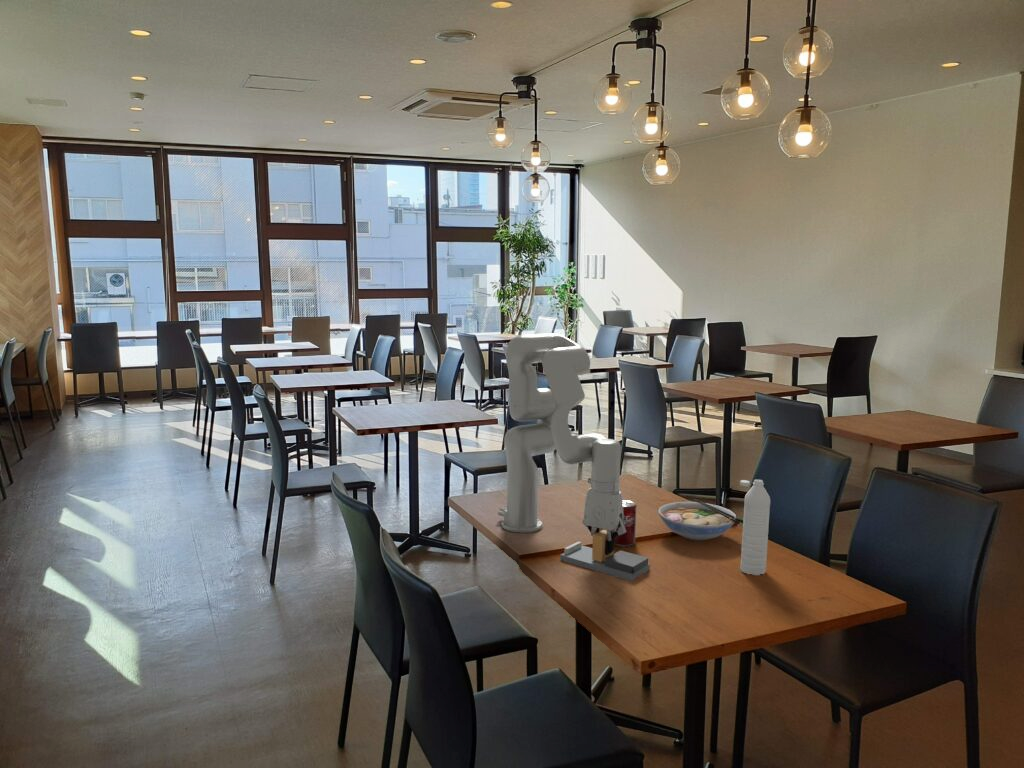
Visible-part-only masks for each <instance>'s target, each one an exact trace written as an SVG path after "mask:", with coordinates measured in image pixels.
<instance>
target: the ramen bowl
mask: <svg viewBox="0 0 1024 768" xmlns="http://www.w3.org/2000/svg"><path fill="white" fill-rule="evenodd" d="M691 499H692V500H694V501H677V502H670V503H666V504H664V505H662V506H660V507H659V508H658V511H657V512H658V515H659V517H660V519H661V520H662V522H663V523H664V524H665V525H666V527H667V528H668V529H669V530H670V531H671V532H673V533H675V534H677V535H679V536H681V537H684V538H685V539H687V540H689V541H690V540H691V541H697V542H699V541H707V540H710V539H714V538H718V537H720V536H721V535H724V534H725V533H727V532H728V531H729V530H730V529H731V527H732V526H733V525H734V524H738V525H740V523H742V524H743V521H744V520H743V519H742V518H739V517H737V514H736V513H735V512H733V511H732V510H730V509H728V508H726V507H723V506H720V505H716V504H711V503H706V502H703V501H701V500H699V499H696V498H691Z"/></svg>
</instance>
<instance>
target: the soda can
mask: <svg viewBox="0 0 1024 768" xmlns="http://www.w3.org/2000/svg"><path fill="white" fill-rule="evenodd" d="M622 500H623V514H624V518H623V524H624V526H625V529H626V533H624V534H621V535H619V536H617V537H616V538H615V539H614V546H617V547H631V546H633V545H635V543H636V532H637V531H636V529H637V528H636V527H637V506H638V505H637V504H636V502H635V501H633V500H629V499H622ZM617 530H619V528H617V529H616V531H617Z"/></svg>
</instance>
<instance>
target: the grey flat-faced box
mask: <svg viewBox="0 0 1024 768" xmlns="http://www.w3.org/2000/svg"><path fill="white" fill-rule="evenodd" d="M648 564H649V557H646V556H642V555H639V554H636V553H632V552H628V551H624V550H621V549H620V550H618V551H617V552H615V553H614V554H613V555H611V556H609V557H607V558H605V566H606V567H610V568H613V569H617V570H620V571H624V572H627V573H630V574H634V573H636V572H637V571H639V570H641V569H643V568H644V567H646V566H648Z"/></svg>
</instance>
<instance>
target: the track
mask: <svg viewBox="0 0 1024 768" xmlns="http://www.w3.org/2000/svg"><path fill="white" fill-rule="evenodd" d="M592 549H593V547H589V546H586V545H582V542H581V541H577V542H575V543H572V544H570V545H568V546H566V547H564V549H563V550H564V552H563V553H561V554H560V556H559V557H560V561H563V562H565V563H569V564H573V565H575V566H579V567H583V568H586V569H589V570H593V571H596V572H600V573H602V574H607V575H609V576H612V577H616V578H619V579H623V580H627V581H629V582H632V581H633V580H634V579H636V578H638V577H640V576H641V575H643V574H645V573H646V572H648V571H649V570H650V568H651V564H650V563H648V566H646V567H644V568H643V569H641V570H639V571H637V572H636V573H634V574H630V573H627V572H624V571H620V570H617V569H613V568H610V567H606V566H605V561H603V562H599V561H595V560H592Z"/></svg>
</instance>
